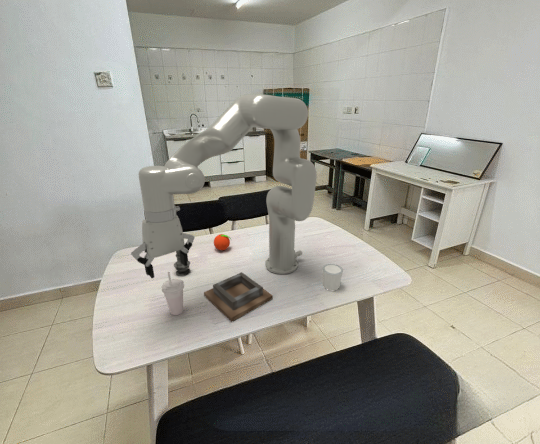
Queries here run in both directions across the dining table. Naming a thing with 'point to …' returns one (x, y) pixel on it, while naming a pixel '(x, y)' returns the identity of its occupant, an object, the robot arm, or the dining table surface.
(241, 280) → the socket block
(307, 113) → the robot arm
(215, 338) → the dining table surface
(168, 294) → the smoothie
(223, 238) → the clementine
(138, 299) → the dining table surface
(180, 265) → the chess piece
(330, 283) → the shot glass
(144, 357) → the dining table surface
